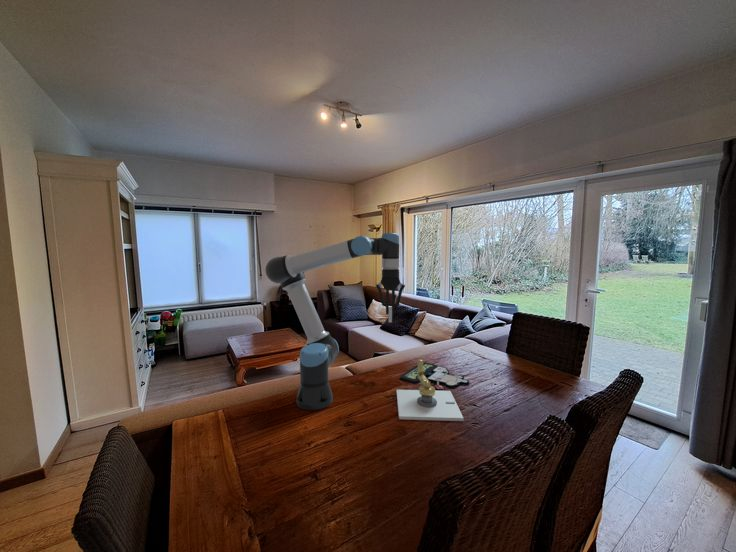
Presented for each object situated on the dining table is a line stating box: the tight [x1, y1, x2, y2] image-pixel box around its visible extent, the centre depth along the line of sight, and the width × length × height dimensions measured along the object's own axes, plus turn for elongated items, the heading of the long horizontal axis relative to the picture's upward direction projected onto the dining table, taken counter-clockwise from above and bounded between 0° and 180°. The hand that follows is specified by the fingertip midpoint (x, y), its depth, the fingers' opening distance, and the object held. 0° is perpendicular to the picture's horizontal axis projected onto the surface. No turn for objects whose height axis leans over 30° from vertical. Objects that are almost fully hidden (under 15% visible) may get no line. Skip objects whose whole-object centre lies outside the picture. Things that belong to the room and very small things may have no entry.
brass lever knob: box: [417, 358, 435, 397], centre depth 125 cm, size 13×6×11 cm, turn 9°
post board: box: [396, 389, 465, 422], centre depth 122 cm, size 24×22×5 cm
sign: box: [399, 361, 470, 391], centre depth 149 cm, size 27×2×30 cm
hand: (390, 321), depth 132 cm, fingers closed
